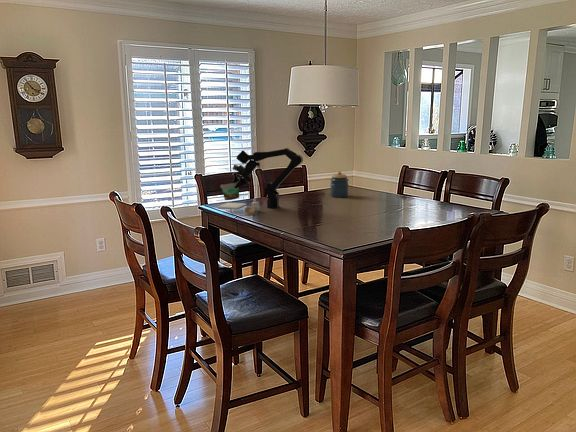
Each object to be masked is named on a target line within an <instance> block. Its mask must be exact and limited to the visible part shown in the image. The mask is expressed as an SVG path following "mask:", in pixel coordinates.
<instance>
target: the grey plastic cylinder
mask: <svg viewBox="0 0 576 432" xmlns="http://www.w3.org/2000/svg"><path fill="white" fill-rule="evenodd" d="M250 206H254V207H255V213H257V212H260V202H259V201H252V202H250ZM256 211H257V212H256Z"/></svg>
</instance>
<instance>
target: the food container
mask: <svg viewBox="0 0 576 432" xmlns="http://www.w3.org/2000/svg"><path fill="white" fill-rule="evenodd" d="M237 183H238V181H237V182H236V183H232V182H231V183H225V184H220V186H219V187H220V189H221V192H222V195H223V198H224V200H225V201H231V200H236V199H240V187H238V188H235V186H236V184H237Z"/></svg>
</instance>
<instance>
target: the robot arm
mask: <svg viewBox="0 0 576 432" xmlns="http://www.w3.org/2000/svg"><path fill="white" fill-rule="evenodd" d="M280 156H286V157H287V158H288V159H289V160H290V161H289V164H288V165H287V166H286V168H285V169H284V170H283V171H282V172H281V174H280V175H279V176H278V177H277V178H276V179H275V180H274V181H273V182H272V181H270V182H269V183H268V184H267V185H266V186H264V188H265V189H264V194H265V196H267V202H266V203H267V204H266V208H267V209H278V208H280V207H281V206H280V197H279V196H280V193H279V191H277V190H278V188H279V186H280V185H281V184H282V183H283V182H284V181H285V180H286V178H287V177H288V176H289V175H290V174H291V173H292V172H293V171H294V169H295V168H297V167H299V166H300V164H302V163H303V161H304V158H303V157H304V156H302V155H301V154H297V153H296V152H294V151H293V150H291V149H290V148H288V147H285V148H283V149H281V148H280V149H276V150H269V151H263V150H262V151H260V150H259V151H255V152H253V154H249V153H247V152H246V151H245V150H241V151H240V152H239V153H238V154H237V155H236V160H237V161H239V162H240V163H241V164H238V165H237V164H233V166H232V170H233V172H231V174H232V176H233V180H232V182H231V183H236V182H237V181H238V183H237V184H236V186H235V188H238V187H239V188H240V187H243V186H244V185H247V184H251V183H252V178H251V177H250V175H252V174H253V172H254V170H255V169H256V168H260V167H261V162H260V161H262V160H265V159H268V158H274V157H280ZM244 164H245V165H244ZM243 165H244V166H243Z"/></svg>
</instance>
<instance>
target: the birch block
mask: <svg viewBox="0 0 576 432" xmlns="http://www.w3.org/2000/svg"><path fill="white" fill-rule="evenodd" d="M253 214H254V215H256V212H255V207H254V206H251V205H247V206H244V215H245V216H253Z"/></svg>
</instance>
